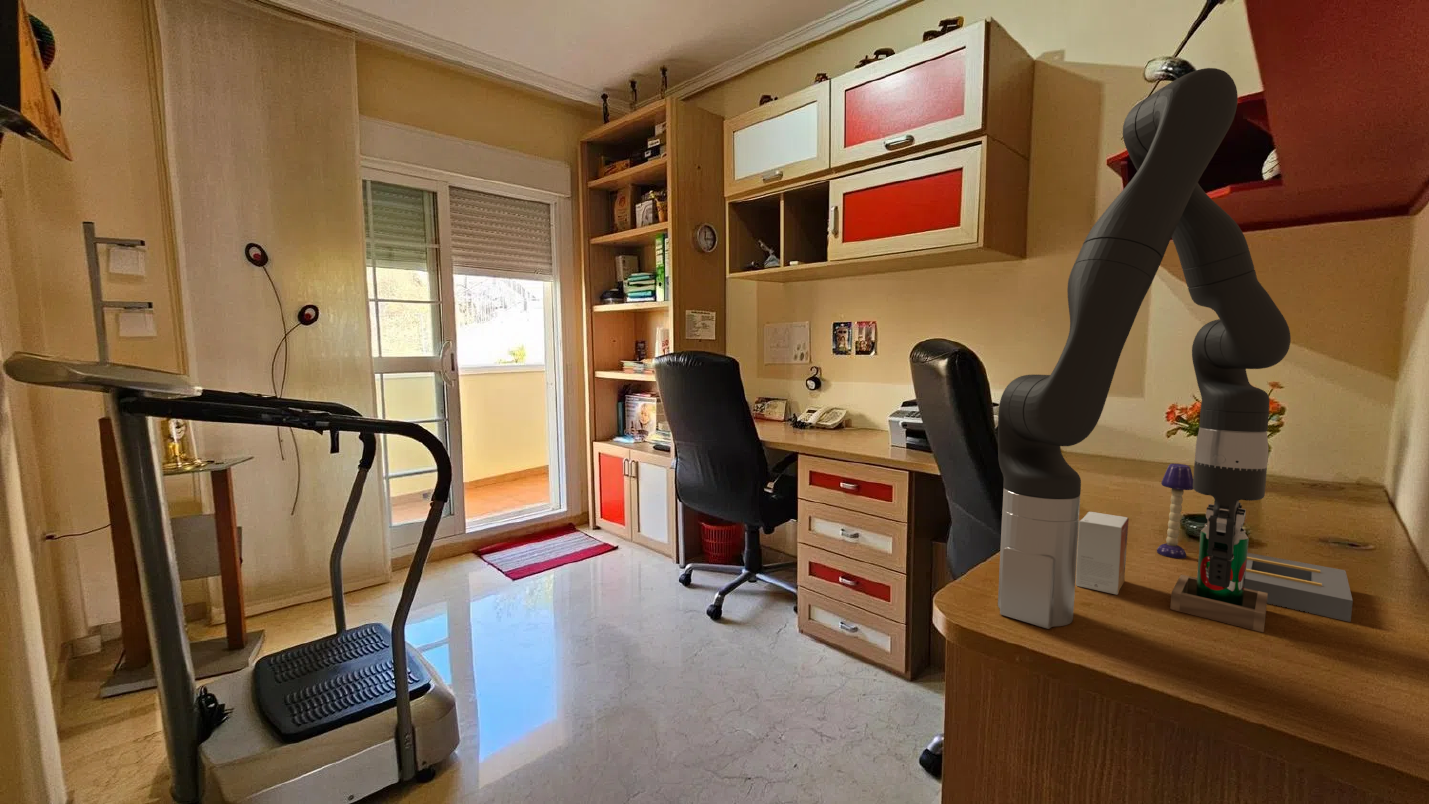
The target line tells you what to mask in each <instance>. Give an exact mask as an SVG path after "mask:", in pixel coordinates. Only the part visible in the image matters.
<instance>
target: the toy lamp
mask: <svg viewBox="0 0 1429 804" xmlns="http://www.w3.org/2000/svg"><path fill="white" fill-rule="evenodd" d="M1193 476H1194V475H1193V473H1192V469H1191V467H1190V465H1187V464H1184V463H1183V464H1182V463H1170V464H1168V466H1167V468H1166V471H1165V473H1164V476H1163V478H1162V480H1161V483H1160V484H1161V486H1163V487H1165V488H1168V489H1169V488H1170V489H1171V490H1170V491H1171V492H1170V493H1171V496H1170V502H1171V503H1170V505H1169V510H1170V512H1169V514H1168V518H1169V520H1168V522H1167V526H1168V529H1167V530H1166V534H1167V535H1166V536H1167V537H1166V539H1165V541H1166V543H1162V544H1160V545H1159V546H1158V547H1157V549H1156V553H1157V554H1159V555H1160V556H1164V557H1167V558H1171V559H1186V558H1187V552H1186V551H1185V549H1184V548H1183V547H1182V546H1180V545H1179V538H1178V537H1179V536H1180V528H1181V519H1182V513H1181V512H1182V511H1183V510H1182V509H1183V505H1182V504H1183V500H1184V499H1183V495H1184V491H1194V489H1193Z"/></svg>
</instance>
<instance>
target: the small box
mask: <svg viewBox="0 0 1429 804" xmlns="http://www.w3.org/2000/svg"><path fill="white" fill-rule="evenodd" d="M1128 533H1129V517H1126V516H1121V515H1113V514H1107V513H1101V512H1095V511H1088V512H1087V513H1086V514H1085V515H1084V517H1083V518H1081V519H1079V525H1078V542H1077V559H1076V577H1075V587H1076V586H1077V587H1080V588H1085V589H1090V590H1095V591H1099V592H1103V593H1108V594H1113V595H1117V596H1118V595H1119V592H1120V590H1121V588H1122V586H1123V585H1124V583H1125V580H1126V577H1125V576H1126V575H1125V574H1126V564H1127V563H1126V561H1127V547H1128V546H1127V545H1128Z"/></svg>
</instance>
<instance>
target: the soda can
mask: <svg viewBox="0 0 1429 804" xmlns="http://www.w3.org/2000/svg"><path fill="white" fill-rule="evenodd" d="M1206 531H1207V522H1206V523H1204V527H1203V528H1202V529H1201V530H1200V533H1199V534H1200V535H1199V547H1198V548H1199V549H1198V559H1197V560H1198V561H1197V573H1196V574H1197V576H1196V578H1197V585H1196V596H1200V597H1204V598H1209V599H1213V600H1217V601H1222V602H1226V603H1230V604H1234V605H1239V606H1243V601H1244V589H1245V577H1246V565H1247V553H1249V552H1248V551H1249V537H1248V536H1247V534H1246V529H1244V528H1243V527H1242V528H1241V531H1240V541H1239V544H1238V545H1235V546H1234V551H1233V554H1234V559H1233V561H1232V563H1231V576H1230V585H1229V587H1220V586H1216V585H1212V584H1210V583H1209V582H1208V577H1209V564H1210V557H1209V556H1208V553H1207V549H1208V539H1207V538H1206ZM1234 535H1235V532H1234ZM1215 548H1217V549H1222V550H1228V546H1227V544H1224V543H1218V542H1215Z"/></svg>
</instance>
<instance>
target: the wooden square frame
mask: <svg viewBox="0 0 1429 804" xmlns="http://www.w3.org/2000/svg"><path fill="white" fill-rule="evenodd" d="M1196 585H1197V577H1196V576H1195V577H1194V576H1192V575H1191V576H1189V575H1185V574H1180V576H1179V578H1178V580H1177V581H1176V583H1175V585H1174V587H1173V588H1172V590H1171V594H1170V610H1173V611H1176V612H1180V613H1184V614H1189V615H1192V616H1196V617H1200V618H1205V619H1208V620H1212V621H1215V622H1220V623H1225V624H1228V625H1232V626H1236V627H1240V628H1244V629H1248V630H1252V631H1256V632H1260V633H1264V631H1265V624H1266V623H1265V622H1266V617H1267V616H1266V614H1267V606H1268V603H1267V595H1268V593H1265V592H1261V591H1256V590H1251V589H1247V588H1245V589H1244V601H1243V606H1239V605H1234V604H1230V603H1226V602H1222V601H1217V600H1213V599H1209V598H1204V597H1200V596H1196Z"/></svg>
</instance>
